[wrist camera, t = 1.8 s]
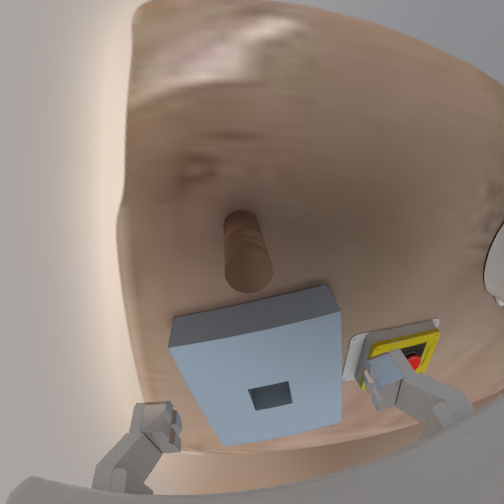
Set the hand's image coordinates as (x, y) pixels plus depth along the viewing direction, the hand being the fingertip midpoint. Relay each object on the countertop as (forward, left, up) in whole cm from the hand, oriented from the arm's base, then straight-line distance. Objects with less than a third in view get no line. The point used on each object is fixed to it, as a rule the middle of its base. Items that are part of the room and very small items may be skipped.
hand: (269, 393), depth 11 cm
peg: (0, 0, -19) cm, 19 cm away
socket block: (+1, +19, -19) cm, 27 cm away
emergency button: (-17, +23, -20) cm, 35 cm away
